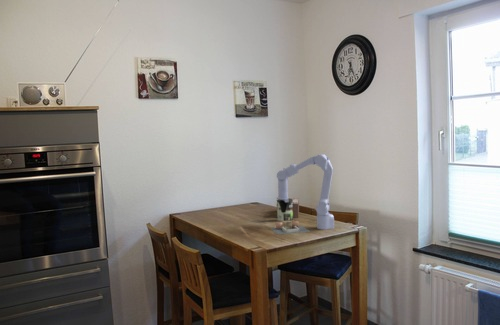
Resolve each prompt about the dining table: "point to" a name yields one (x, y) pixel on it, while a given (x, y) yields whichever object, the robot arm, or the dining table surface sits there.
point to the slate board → (280, 231)
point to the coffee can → (288, 214)
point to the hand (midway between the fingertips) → (283, 212)
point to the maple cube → (287, 224)
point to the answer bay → (291, 229)
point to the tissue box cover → (295, 207)
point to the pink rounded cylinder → (295, 224)
